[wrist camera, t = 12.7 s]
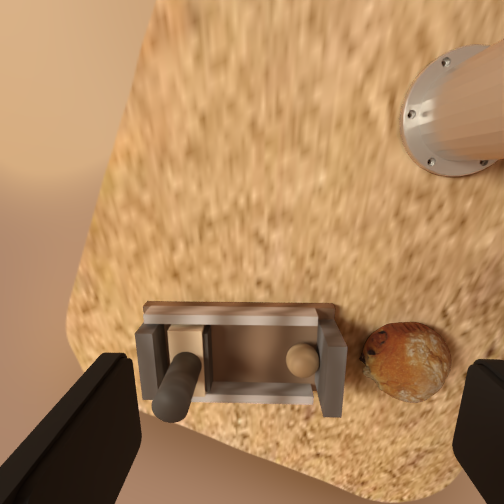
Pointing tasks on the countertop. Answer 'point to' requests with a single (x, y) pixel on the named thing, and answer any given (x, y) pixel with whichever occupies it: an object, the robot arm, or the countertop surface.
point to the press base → (253, 351)
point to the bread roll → (407, 360)
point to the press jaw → (185, 371)
